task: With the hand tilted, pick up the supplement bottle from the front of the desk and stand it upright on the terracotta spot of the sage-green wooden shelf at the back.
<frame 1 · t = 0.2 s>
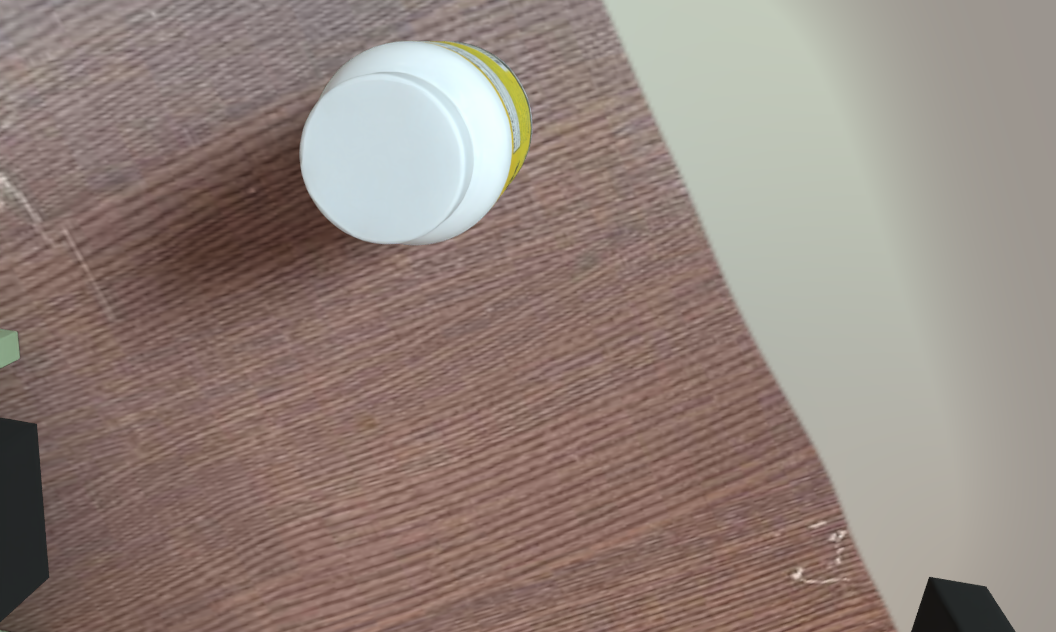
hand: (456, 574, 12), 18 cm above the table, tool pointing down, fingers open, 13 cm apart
supplement bottle: (458, 124, 29), on the table
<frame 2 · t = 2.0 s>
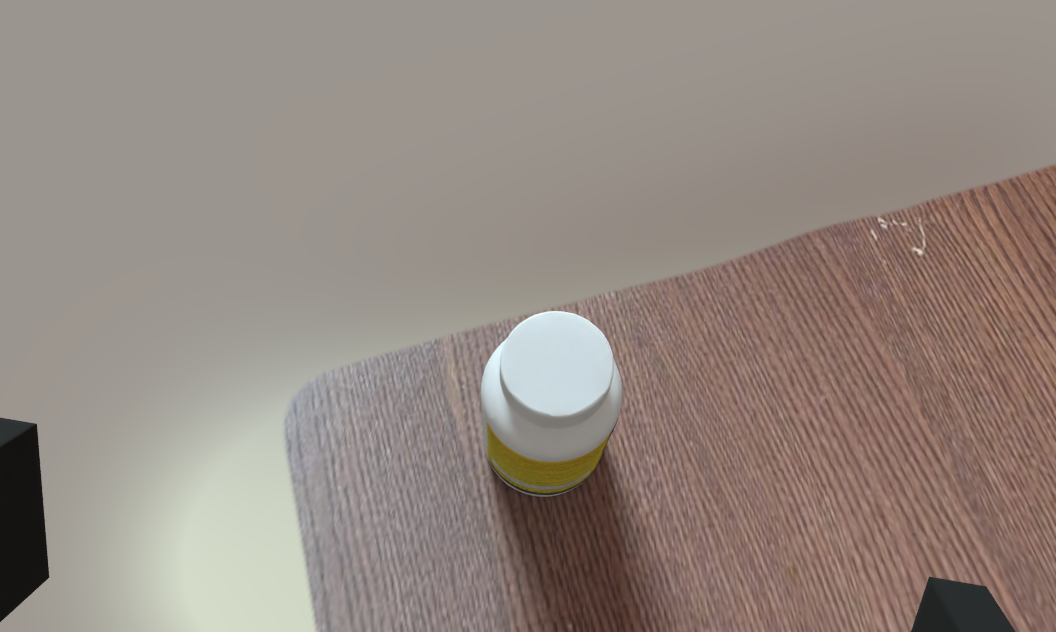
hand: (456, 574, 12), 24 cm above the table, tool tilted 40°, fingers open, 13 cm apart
supplement bottle: (543, 439, 38), on the table
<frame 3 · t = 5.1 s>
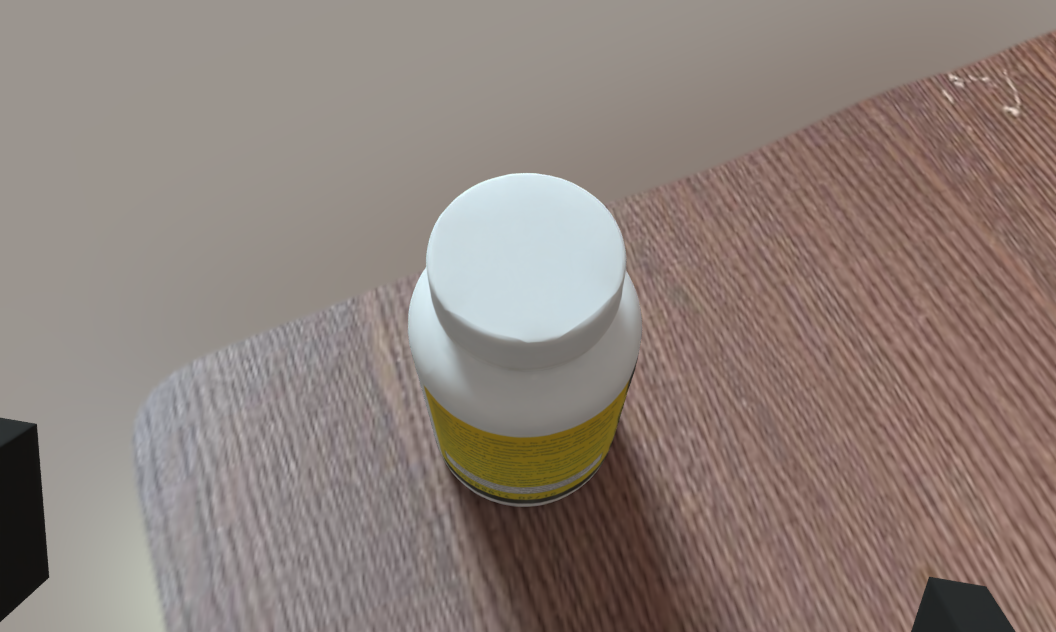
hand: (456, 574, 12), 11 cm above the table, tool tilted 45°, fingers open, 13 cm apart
supplement bottle: (525, 422, 25), on the table
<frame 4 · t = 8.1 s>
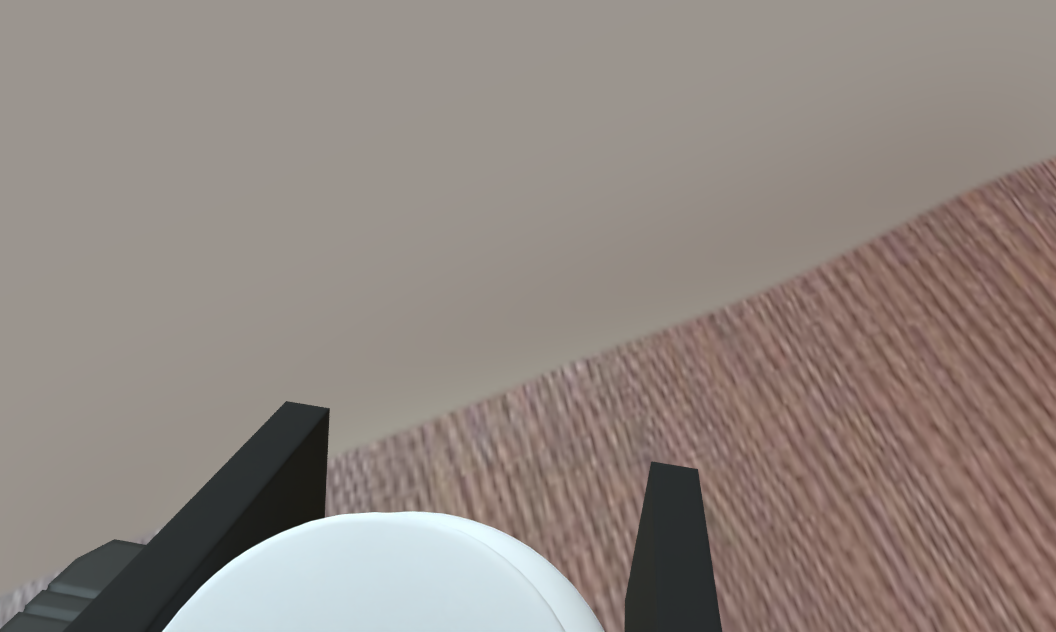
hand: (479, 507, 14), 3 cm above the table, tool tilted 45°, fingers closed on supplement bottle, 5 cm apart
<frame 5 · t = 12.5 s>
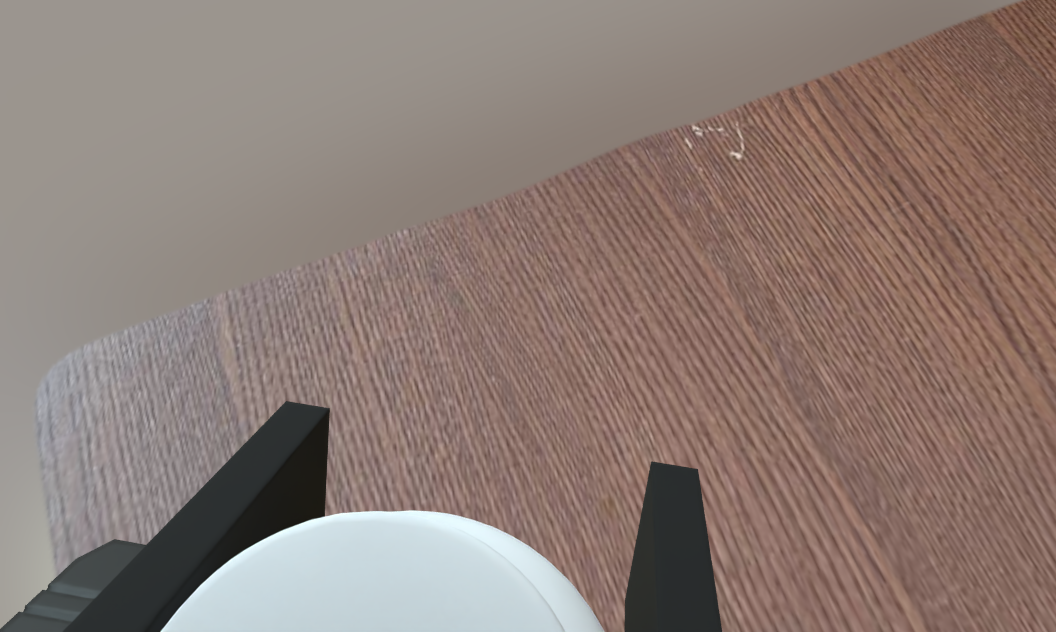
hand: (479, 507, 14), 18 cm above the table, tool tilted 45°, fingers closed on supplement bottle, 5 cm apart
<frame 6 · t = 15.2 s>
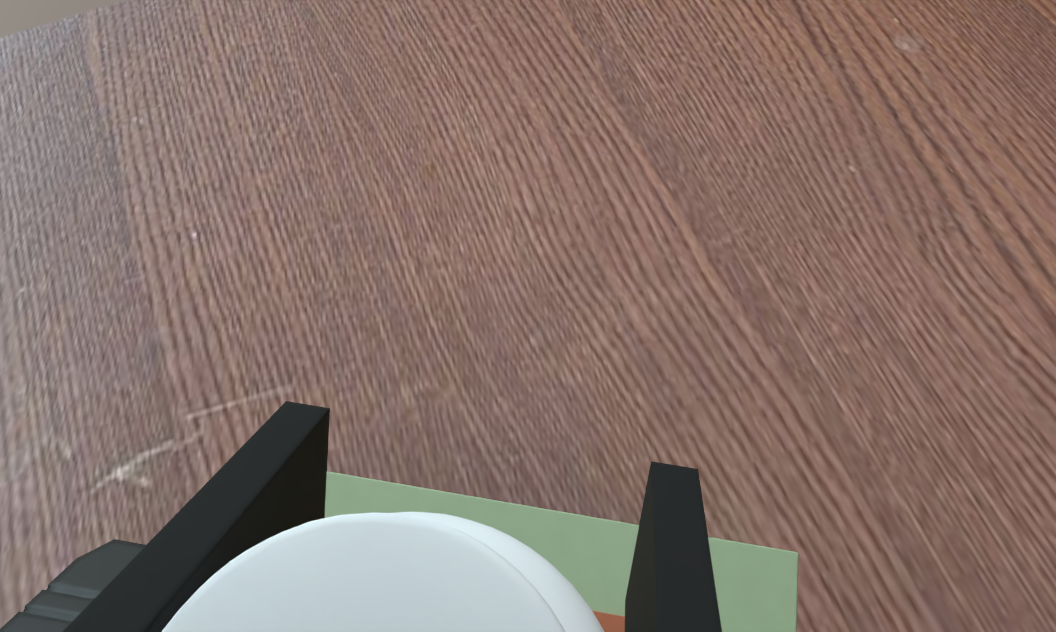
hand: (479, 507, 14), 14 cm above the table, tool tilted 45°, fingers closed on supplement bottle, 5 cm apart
when the fingers open (8 cm above the table, at t = 17.2 s): supplement bottle stays where it is, resting on shelf.
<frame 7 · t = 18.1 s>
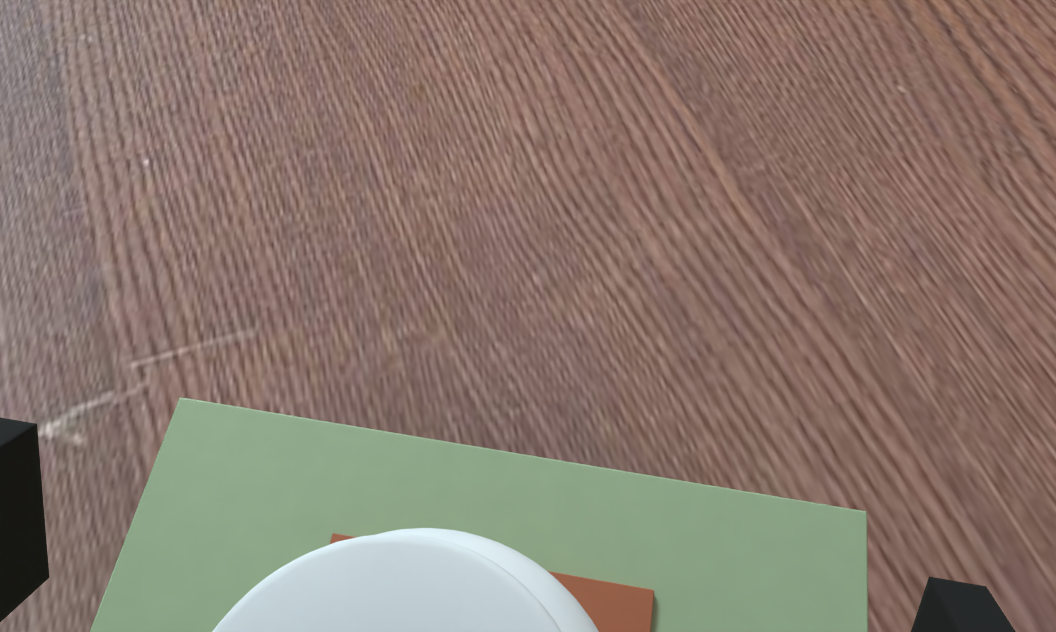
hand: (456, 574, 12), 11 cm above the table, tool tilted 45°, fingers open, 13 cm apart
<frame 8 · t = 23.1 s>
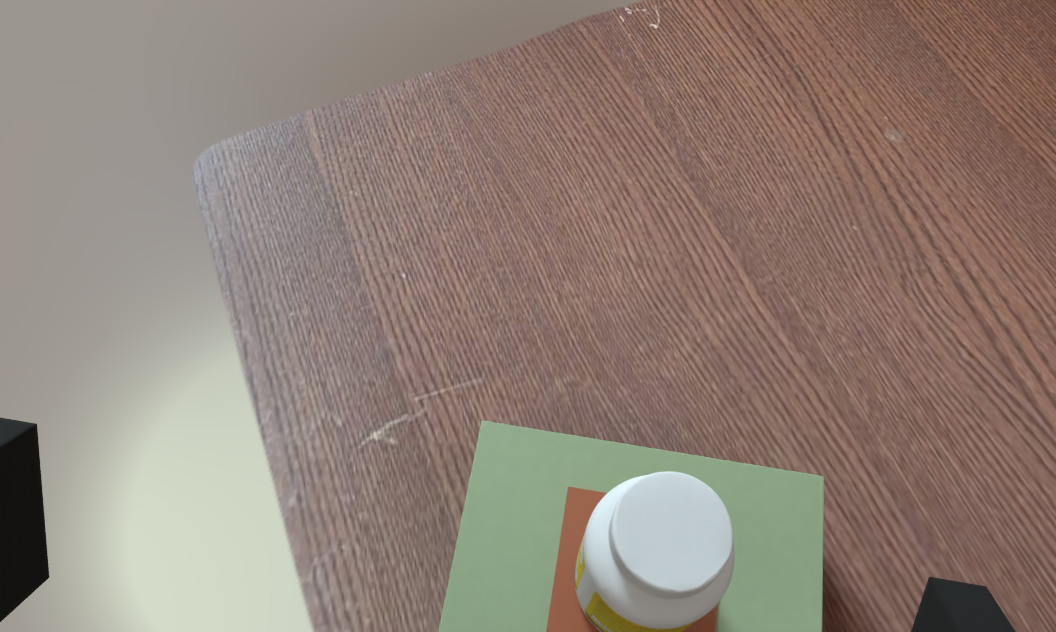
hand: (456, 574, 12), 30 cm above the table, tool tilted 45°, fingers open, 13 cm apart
shelf: (624, 595, 40), on the table
supplement bottle: (635, 580, 36), point 5 cm above the table, touching shelf
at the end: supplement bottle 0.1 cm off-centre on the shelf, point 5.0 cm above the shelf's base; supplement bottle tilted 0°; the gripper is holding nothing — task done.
